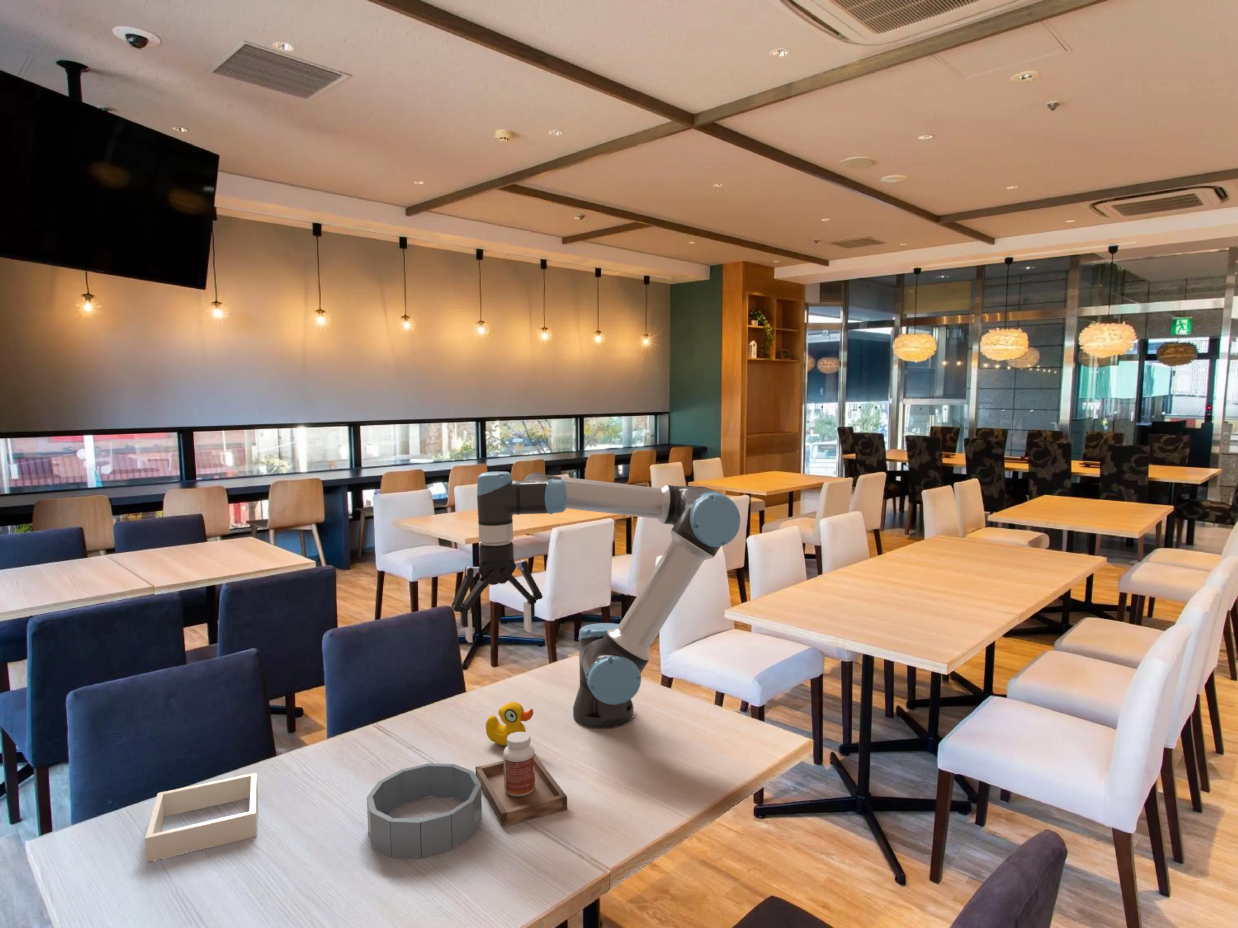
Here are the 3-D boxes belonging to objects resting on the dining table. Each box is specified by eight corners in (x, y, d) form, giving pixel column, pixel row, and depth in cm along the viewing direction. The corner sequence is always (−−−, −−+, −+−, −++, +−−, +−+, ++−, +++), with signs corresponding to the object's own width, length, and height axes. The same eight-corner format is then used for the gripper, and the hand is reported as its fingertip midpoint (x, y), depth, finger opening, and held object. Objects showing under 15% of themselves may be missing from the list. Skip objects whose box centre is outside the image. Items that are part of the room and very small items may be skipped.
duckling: (537, 740, 167) (536, 699, 166) (530, 752, 162) (529, 709, 161) (491, 737, 169) (489, 696, 168) (482, 747, 164) (481, 705, 163)
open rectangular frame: (258, 793, 146) (256, 772, 145) (256, 836, 132) (255, 812, 131) (159, 815, 139) (157, 792, 138) (146, 862, 124) (144, 838, 124)
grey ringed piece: (465, 785, 148) (464, 754, 148) (492, 837, 130) (491, 803, 130) (363, 810, 140) (362, 778, 139) (377, 870, 122) (375, 833, 121)
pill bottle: (540, 791, 144) (539, 738, 143) (512, 801, 141) (511, 747, 140) (526, 778, 149) (525, 726, 148) (499, 787, 146) (498, 734, 145)
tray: (534, 764, 156) (534, 753, 156) (567, 809, 139) (567, 796, 139) (475, 778, 151) (475, 767, 150) (502, 826, 134) (501, 813, 133)
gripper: (542, 533, 168) (545, 622, 170) (435, 544, 156) (439, 639, 158) (555, 539, 161) (557, 631, 163) (443, 551, 150) (447, 650, 152)
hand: (499, 635), depth 161 cm, fingers open, 13 cm apart
